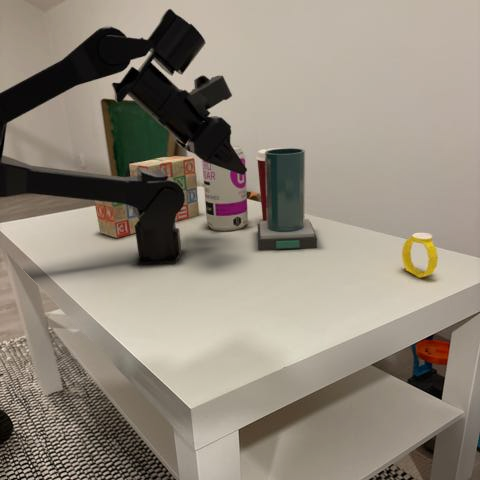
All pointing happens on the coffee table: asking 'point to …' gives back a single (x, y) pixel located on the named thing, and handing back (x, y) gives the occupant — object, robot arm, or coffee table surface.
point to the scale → (286, 238)
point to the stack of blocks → (123, 216)
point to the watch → (431, 251)
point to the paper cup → (263, 179)
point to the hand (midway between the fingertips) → (236, 168)
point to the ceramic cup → (285, 189)
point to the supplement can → (225, 196)
